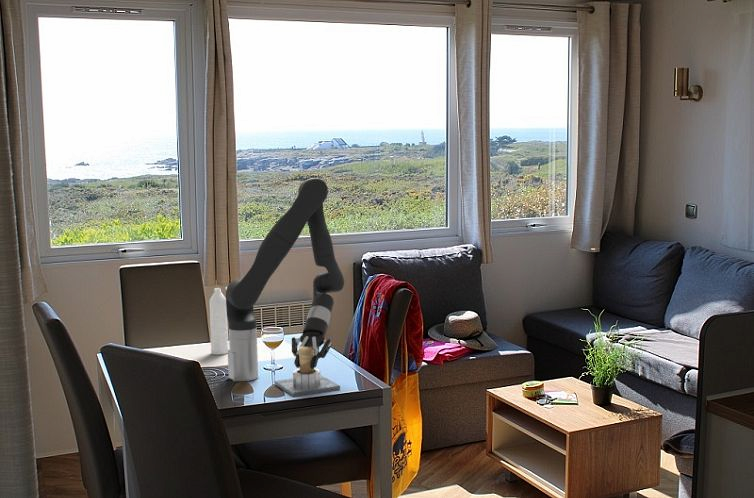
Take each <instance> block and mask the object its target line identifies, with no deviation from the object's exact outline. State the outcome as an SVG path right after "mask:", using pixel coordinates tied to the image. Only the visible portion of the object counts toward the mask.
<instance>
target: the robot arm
mask: <svg viewBox="0 0 754 498" xmlns="http://www.w3.org/2000/svg"><path fill="white" fill-rule="evenodd" d="M297 193H298V195H297V196H296V198H295V200H294V202H293V203H292V205H291V206H290V208H289V209H288V210H287V211H286V212H285V213H284V214H283V215H282V216H281V217H280V218H279V219H278V220H277V222H276V223H275V224H274V225H273V226H272V227H271V229H270V230H269V232H268V233H267V234H266V236H265V237H264V238H263V240H262V241H261V244H260V245H259V248H258V251H257V252H256V253H257V254H256V256H255V258H254V261H253V263H252V265H251V267H250V269H249V270H248V271H247V273H246V274H245V275H244V277H243V278H241V279H235V280H232V281H231V282H230V283H229V284H228V285H227V286H226V287H227V290H226V289H225V298H226V311H227V322H228V348H229V350H228V353H227V368H228V378H229V379H230V380H231V381H233V382H248V381H254V380H256V379H258V378H259V362H258V335H257V334H258V332H257V330H258V329H257V327H258V325H257V318H256V316H255V312H254V305H255V304H256V303H257V302H258V300H259V298H260V296H261V294H262V293H263V291H264V289H265V287H266V285H267V283H268V281H269V280H270V278H271V277H272V276H273V274H274V273H275V272H276V271H277V269H278V267H279V266H280V264H282V262H283V260H284V259H285V258H286V257H287V255H288V254H289V252H290V251H291V249H292V248H293V246H294V244H295V243H296V242H297V240H298V238H299V237H300V235H301V233H302V232H303V230H304V229H305V226H306V225H307V226H308V232H309V235H310V236H309V237H310V242H311V248H312V255H313V259H314V264H315V265H316V266H317V267H322V268H325V269H326V271H327V272H321V273H318V274H317V275H316V276H315V277H314V279H313V281H312V287H313V289H312V291H313V292H312V293H313V294H312V297H313V298H312V302H311V305H310V308H309V311H308V314H307V317H306V320H305V323H304V326H303V331H302V335H300V336H299V337H297V338H296V337H294V336H293V337H291V353H292V355H293V356H294V357H295V359H294V361H293V364H294V366H295V368H297V369H300V363H299V349H298V346H299V347H302V346H312V347H313V352H314V356H313V357H312V360H311V364H310V367H311V369H314V368H317V366H318V365H317V364H318V361H319V359H325V357H326V355H328V352H330V349H331V347H332V345H333V343H332V341H331V339H330V338H328V339H326V334H327V332H328V327H329V325H330V320H331V314H332V311H333V307H334V302H335V301H334V298H333V297H332V296H331V295H330V293H331V294H332V293H338V292H341V291H342V290H343V289H344V287H345V278H344V274H343V272H342V270H341V269H340V266H339V265H338V262H337V259H336V257H335V250H334V246H333V240H332V237H331V234H330V231H329V228H328V226H327V222H326V217H325V213H324V202H325V201H326V199H327V198H328V195H329V189H328V185H327V183H326V181H324V179H321V178H318V177H312V178H308V179H306V180H304V181H302V183H301V184H300V185H299V187H298V191H297ZM299 344H300V345H299ZM322 345H323V346H322ZM321 346H322V347H321ZM320 347H321V349H320Z"/></svg>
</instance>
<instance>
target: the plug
mask: <svg viewBox="0 0 754 498" xmlns="http://www.w3.org/2000/svg"><path fill="white" fill-rule="evenodd" d="M298 350H299V363H300V367H299V369H300V373H301V374H309V373H314V369H311V367H310V364H311V360H312V357H313V356H314V350H313V347H312V346H302V347H300V346H299V347H298Z"/></svg>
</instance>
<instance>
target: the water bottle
mask: <svg viewBox="0 0 754 498" xmlns="http://www.w3.org/2000/svg"><path fill="white" fill-rule="evenodd" d="M227 287H228V286H225V291H226V290H227ZM213 291H214V292H213V293H212V295H211V297H210V299H209V303H208V304H209V320H210V321H209V326H210V327H209V329H210V330H209V331H210V346H211V347H210V353H211V354H212V355H217V356H220V355H228V350H230V348H229V324H228V320H227V311H226V296H225V295H224V294H223V293H222V290H221V287H215V288H214V290H213Z"/></svg>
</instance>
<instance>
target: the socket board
mask: <svg viewBox="0 0 754 498" xmlns="http://www.w3.org/2000/svg"><path fill="white" fill-rule="evenodd" d="M274 385H275V386H277V387H278V388H279V389H281V390H283V391H284V392H285V393H287V394H289V395H291V396H292V397H298V396H306V395H312V394H318V393H325V392H331V391H338V390H341V385H339V384H337V383H336V382H334V381H332V380H330V379H329V378H327V377H325V376H323V375H321V370H320V369H318V368H317V367H314V373H309V374H301V373H300V368H297V369H294V370H293V371H292V378H287V379H280V380H274Z"/></svg>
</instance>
